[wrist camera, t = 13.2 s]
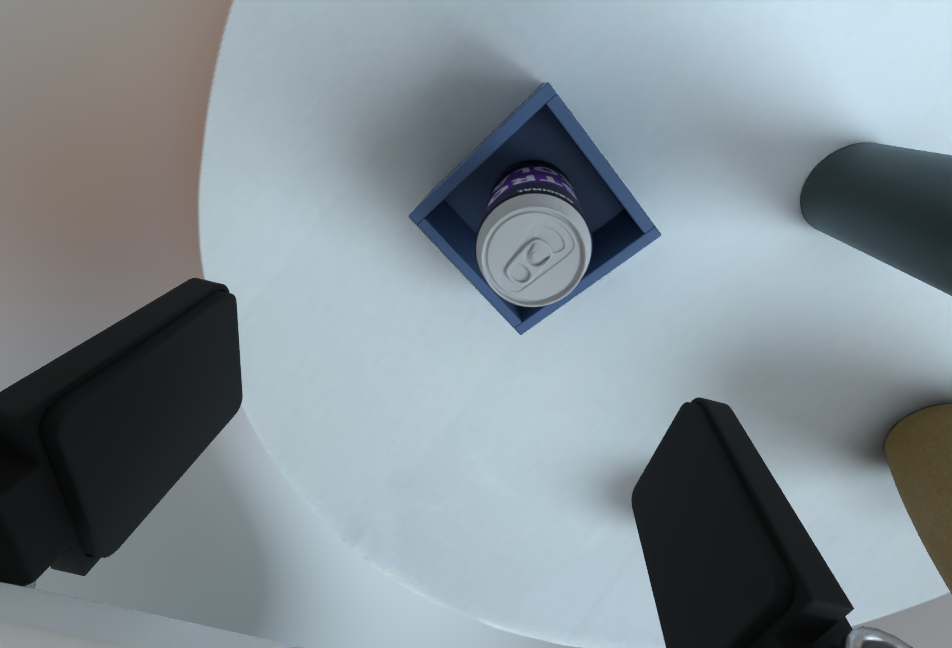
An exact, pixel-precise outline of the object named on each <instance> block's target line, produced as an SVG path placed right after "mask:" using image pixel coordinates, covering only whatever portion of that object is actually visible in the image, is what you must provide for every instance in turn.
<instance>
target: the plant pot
mask: <svg viewBox="0 0 952 648" xmlns="http://www.w3.org/2000/svg"><path fill="white" fill-rule="evenodd" d="M884 452H885V456H886V459H887V462H888V465H889V468H890V470H891V473H892V476H893V479H894V481H895V484H896V487H897V489H898V492H899V494H900V496H901V499H902V501H903V503H904V505H905V508H906V510H907V512H908V514H909V516H910V518H911V520H912V523H913V525H914V527H915V529H916V531H917V533H918V535H919V537H920V539H921V541H922V543H923V544H924V546H925V548H926V550H927V552H928V554H929V556H930V557H931V559H932V561H933V563H934V564H935V566H936V568H937V570H938V572H939V573H940V575H941V577H942V578H943V580H944V582H945V584H946V585H947V587H948V589H949V590H950V592H951V594H952V404H940V405H935V406H930V407H927V408H924V409H921V410H919V411H917V412H915V413H913V414H911V415H909V416H907V417H906V418H904V419H903V420H901V421H900V422H899V423H898V424H897V425H896V426H895V427H894V428H893V429H892V430H891V431H890V433H889V434H888V436H887V438H886V441H885V445H884Z"/></svg>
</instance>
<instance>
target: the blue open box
mask: <svg viewBox="0 0 952 648" xmlns="http://www.w3.org/2000/svg"><path fill="white" fill-rule="evenodd" d="M526 160H541V161H545V162H548V163H551V164H553V165H554V166H556V167H558V168H559V169H560V170H561V171H562V172H563V173H564V174H565V175H566V176H567V178H568V179H569V181H570V183H571V185H572V188H573V190H574V192H575V195H576V197H577V199H578V202H579V204H580V206H581V209H582V211H583V213H584V216H585V218H586V220H587V222H588V225H589V227H590V230H591V234H592V241H593V250H592V257H591V261H590V264H589V266H588V269H587V271H586V273H585V274H584V276H583V277H582V279H581V280H580V282H579V283H578V284H577V286H576V287H575V288H574V289H573V290H572V291H571V292H570V293H569V294H568V295H567V296H565V297H564V298H562V299H561V300H559V301H557V302H554V303H552V304H549V305H545V306H539V307H525V306H520V305H516V304H514V303H511V302H509V301H507V300H505V299H503V298H502V297H501V296H499V295H498V294H497V293H496V292H495V291H494V290H493V289H492V288H491V287H490V285H489V284H488V283H487V282H486V280H485V279H484V277H483V276H482V274H481V272H480V270H479V268H478V265H477V261H476V256H475V241H476V235H477V232H478V229H479V226H480V223H481V220H482V218H483V215H484V212H485V209H486V206H487V203H488V200H489V198H490V195H491V192H492V189H493V187H494V184H495V182H496V181H497V179H498V178H499V176H500V175H501V174H502V173H503V172H504V171H505V170H506V169H508V168H509V167H511V166H512V165H514V164H516V163H519V162H522V161H526ZM409 218H410V219H411V220H412V221H413V222H414V223H415V224H416V225H417V226H418V227H419V228H420V229H421V231H422V232H423V233H424V234H425V235H426V236H427V237H428V238H429V239H430V240H431V241H432V242H433V243H434V244H435V245H436V246H437V247H438V248H439V250H440V251H441V252H442V253H443V254H444V255H445V256H446V257H447V258H448V259H449V260H450V261H451V262H452V263H453V264H454V265H455V266H456V268H457V269H458V270H459V271H460V272H461V273H462V274H463V275H464V276H465V277H466V278H467V279H468V280H469V281H470V282H471V283H472V284H473V285H474V287H475V288H476V289H477V290H478V291H479V292H480V293H481V294H482V295H483V296H484V297H485V298H486V299H487V300H488V301H489V302H490V303H491V305H492V306H493V307H494V308H495V309H496V310H497V311H498V312H499V313H500V314H501V315H502V316H503V317H504V318H505V319H506V320H507V321H508V322H509V324H510V325H511V326H512V327H513V328H515V330H516V331H517V332H518V333H519V334H520V335H522V334H523V333H524V332H526V331H527V330H529V329H530V328H532V327H533V326H534V325H536V324H537V323H539V322H540V321H541V320H543V319H544V318H546V317H547V316H548V315H550V314H551V313H553V312H554V311H555V310H557V309H558V308H560V307H561V306H563V305H564V304H565V303H567V302H568V301H570V300H571V299H572V298H574V297H575V296H577V295H578V294H579V293H581V292H582V291H584V290H585V289H586V288H588V287H589V286H591V285H592V284H594V283H595V282H596V281H598V280H599V279H601V278H602V277H603V276H605V275H606V274H608V273H609V272H610V271H612V270H613V269H615V268H616V267H617V266H619V265H620V264H622V263H623V262H624V261H626V260H627V259H629V258H630V257H632V256H633V255H634V254H636V253H637V252H639V251H640V250H641V249H643V248H644V247H646V246H647V245H648V244H650V243H651V242H653V241H654V240H655V239H657V238H658V237H660V236H661V233H660V232H659V231H658V229H657V228H656V227H655V225H654V224H653V222H652V221H651V220H650V218H649V217H648V216H647V214H646V213H645V212H644V210H643V209H642V208H641V206H640V205H639V204H638V202H637V201H636V199H635V198H634V197H633V195H632V194H631V193H630V191H629V190H628V189H627V187H626V186H625V185H624V183H623V182H622V181H621V179H620V178H619V177H618V175H617V174H616V173H615V171H614V170H613V168H612V167H611V166H610V164H609V163H608V162H607V160H606V159H605V158H604V156H603V155H602V154H601V152H600V151H599V150H598V148H597V147H596V146H595V144H594V143H593V142H592V140H591V139H590V137H589V136H588V135H587V133H586V132H585V131H584V129H583V128H582V127H581V125H580V124H579V123H578V121H577V120H576V119H575V117H574V116H573V115H572V113H571V112H570V111H569V109H568V108H567V106H566V105H565V104H564V102H563V101H562V100H561V98H560V97H559V96H558V94H556V92H555V90H554V89H553V88H552V86H551V85H550V84H549V83H548V82H547V83H543V84H542V85H541V86H540V87H539V88H538V89H537V90H536V91H535V92H534V93H533V94H532V95H531V96H530V97H529V98H528V99H527V100H526V101H525V102H524V103H522V104H521V105H520V106H519V107H518V108H517V109H516V110H515V111H514V112H513V113H512V114H511V115H510V116H509V117H508V118H507V119H506V120H505V121H504V122H503V123H502V124H501V125H500V126H499V127H498V128H497V129H496V130H495V131H493V132H492V133H491V134H490V135H489V136H488V137H487V138H486V139H485V140H484V141H483V142H482V143H481V144H480V145H479V146H478V147H477V148H476V149H475V150H474V151H473V152H472V153H471V154H470V155H469V156H468V157H467V158H466V159H464V160H463V161H462V162H461V163H460V164H459V165H458V166H457V167H456V168H455V169H454V170H453V171H452V172H451V173H450V174H449V175H448V176H447V177H446V178H445V179H444V180H443V181H442V182H441V183H440V184H439V185H438V186H437V187H436V188H434V189H433V190H432V191H431V192H430V193H429V194H428V196H427V197H426V198H425V199H424V200H423V201H422V202H421V203H420V204H419V205H418V206H417V207H416V208H415V210H414V211H413V212H412V213H411V214H410V215H409Z"/></svg>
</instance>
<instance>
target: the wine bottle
mask: <svg viewBox="0 0 952 648" xmlns="http://www.w3.org/2000/svg"><path fill="white" fill-rule="evenodd" d="M801 209H802V213H803V216H804V218H805V219H806V221H807V222H808V223H809V224H810V225H811V226H812V227H814V228H815V229H817V230H819V231H821V232H823V233H825V234H827V235H829V236H831V237H833V238H835V239H837V240H839V241H842V242H844V243H846V244H848V245H850V246H852V247H854V248H856V249H858V250H860V251H862V252H864V253H866V254H868V255H870V256H872V257H874V258H876V259H878V260H880V261H882V262H884V263H886V264H888V265H890V266H892V267H894V268H896V269H898V270H900V271H902V272H904V273H907V274H909V275H911V276H913V277H915V278H917V279H919V280H921V281H923V282H925V283H927V284H929V285H931V286H933V287H935V288H937V289H939V290H941V291H943V292H945V293H947V294H949V295H951V296H952V155H945V154H939V153H933V152H927V151H920V150H914V149H908V148H902V147H896V146H889V145H883V144H877V143H858V144H854V145H850V146H847V147H845V148H842V149H840V150H838V151H836V152H834V153H833V154H831V155H830V156H828V157H827V158H826V159H824V160H823V161H822V162H821V163H820V164H819V165H818V166H817V167H816V168H815V169H814V170H813V172H812V173H811V174H810V176H809V177H808V179H807V181H806V183H805V185H804V188H803V191H802V195H801Z"/></svg>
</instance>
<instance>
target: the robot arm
mask: <svg viewBox="0 0 952 648" xmlns="http://www.w3.org/2000/svg"><path fill="white" fill-rule="evenodd" d="M241 402H242V381H241V365H240V350H239V334H238V318H237V303H236V298H235V296H234V295H233V294H231V293H229V290H228V288H227V286H225V285H224V284H220V283H215V282H211V281H207V280H203V279H199V278H192V279H189V280H188V281H186V282H185V283H183V284H181V285H179V286H178V287H176V288H174V289H173V290H171V291H169V292H167V293H166V294H164V295H162V296H161V297H159V298H157V299H156V300H154V301H152V302H151V303H149V304H147V305H146V306H144V307H142V308H141V309H139V310H137V311H136V312H134V313H132V314H131V315H129V316H128V317H126V318H124V319H122V320H120V321H119V322H117V323H115V324H114V325H112V326H111V327H109V328H107V329H106V330H104V331H102V332H100V333H99V334H97V335H95V336H93V337H92V338H90V339H89V340H87V341H85V342H84V343H82V344H80V345H78V346H77V347H75V348H73V349H72V350H70V351H68V352H67V353H65V354H63V355H62V356H60V357H58V358H56V359H55V360H53V361H51V362H50V363H48V364H47V365H45V366H43V367H41V368H40V369H38V370H36V371H35V372H33V373H31V374H30V375H28V376H26V377H25V378H23V379H21V380H20V381H18V382H16V383H14V384H13V385H11V386H9V387H8V388H6V389H4V390H3V391H1V392H0V648H302V647H297V646H293V645H289V644H285V643H280V642H276V641H271V640H267V639H262V638H258V637H253V636H249V635H244V634H240V633H235V632H231V631H226V630H222V629H217V628H212V627H208V626H203V625H198V624H195V623H189V622H185V621H181V620H176V619H172V618H167V617H163V616H158V615H154V614H149V613H145V612H140V611H135V610H131V609H127V608H122V607H118V606H113V605H109V604H104V603H100V602H95V601H90V600H86V599H81V598H77V597H71V596H67V595H62V594H57V593H51V592H47V591H41V590H37V589H35V585H36V580H37V579H38V578H39V576H41V574H43V572H44V571H45V570H46V569H47V568H48V567H49V566H50V567H51V568H52V569H55V570H60V571H64V572H68V573H73V574H77V575H82V576H85V575H86V574H87V573H88V572H89V571H90V569H91V568H92V567H93V566H94V565H95V564H96V563H97V562H98V561H99V559H100V558H101V557H103V558H106V557H108V556H110V555H111V554H113V553H114V552H115V551H117V550H118V549H119V548H120V546H121V545H122V544H123V543H124V542H125V541H126V539H127V538H128V537H129V536H130V535H131V534H132V533H133V531H134V530H135V529H136V528H137V527H138V526H139V525H140V523H141V522H142V521H143V520H144V519H145V518H146V517H147V515H148V514H149V513H150V512H151V511H152V509H153V508H154V507H155V506H156V505H157V504H158V503H159V502H160V500H161V499H162V498H163V497H164V496H165V495H166V493H167V492H168V491H169V490H170V489H171V488H172V487H173V485H174V484H175V483H176V482H177V481H178V480H179V479H180V477H181V476H182V475H183V474H184V473H185V472H186V471H187V469H188V468H189V467H190V466H191V465H192V464H193V463H194V461H195V460H196V459H197V458H198V457H199V456H200V454H201V453H202V452H203V451H204V450H205V449H206V447H207V446H208V445H209V444H210V443H211V442H212V440H214V438H215V437H216V436H217V435H218V434H219V433H220V431H221V430H222V429H223V428H224V427H225V426H226V425H227V423H228V422H229V421H230V420H231V419H232V418H233V417H234V415H235V414H236V413H237V411H238V409H239V408H240V405H241ZM632 508H633V512H634V517H635V521H636V525H637V529H638V533H639V537H640V541H641V545H642V550H643V554H644V558H645V562H646V566H647V570H648V574H649V578H650V583H651V587H652V591H653V595H654V599H655V603H656V607H657V612H658V616H659V620H660V624H661V628H662V632H663V636H664V640H665V645H666V648H913V647H911V646H910V645H908V644H907V643H905V642H903V641H902V640H900V639H899V638H897V637H895V636H894V635H891V634H889V633H887V632H884V631H882V630H879V629H877V628H870V627H864V626H862V627H859V628H856V629H852V628H851V626H850V624H849V622H848V621H847V619H846V617H845V616H846V615H847V614H849V613H850V612H851V611H852V610H853V609H854V608H853V606H852V604H851V603H850V601H849V600H848V598H847V596H846V595H845V593H844V591H843V590H842V588H841V587H840V585H839V583H838V582H837V580H836V578H835V577H834V575H833V574H832V572H831V570H830V569H829V567H828V565H827V564H826V562H825V560H824V559H823V557H822V556H821V554H820V552H819V551H818V549H817V547H816V546H815V544H814V543H813V541H812V539H811V538H810V536H809V534H808V533H807V531H806V530H805V528H804V526H803V525H802V523H801V521H800V520H799V518H798V517H797V515H796V513H795V512H794V510H793V508H792V507H791V505H790V503H789V502H788V500H787V499H786V497H785V495H784V494H783V492H782V490H781V489H780V487H779V486H778V484H777V482H776V481H775V479H774V477H773V476H772V474H771V473H770V471H769V469H768V468H767V466H766V464H765V463H764V461H763V459H762V458H761V456H760V455H759V453H758V451H757V450H756V448H755V446H754V445H753V443H752V442H751V440H750V438H749V437H748V435H747V433H746V432H745V430H744V429H743V427H742V425H741V424H740V422H739V420H738V419H737V417H736V415H735V414H734V412H733V411H732V409H731V408H730V407H729V405H727V404H724V403H720V402H716V401H712V400H708V399H703V398H695V399H694V400H692V401H691V403H690V402H686V403H684V404H683V405H682V406H681V408H680V409H679V411H678V413H677V415H676V416H675V418H674V420H673V422H672V423H671V425H670V427H669V428H668V430H667V432H666V434H665V435H664V437H663V439H662V441H661V442H660V444H659V446H658V448H657V449H656V451H655V453H654V454H653V456H652V458H651V460H650V461H649V463H648V465H647V467H646V468H645V470H644V472H643V474H642V475H641V477H640V479H639V481H638V482H637V484H636V486H635V488H634V490H633V493H632Z"/></svg>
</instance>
